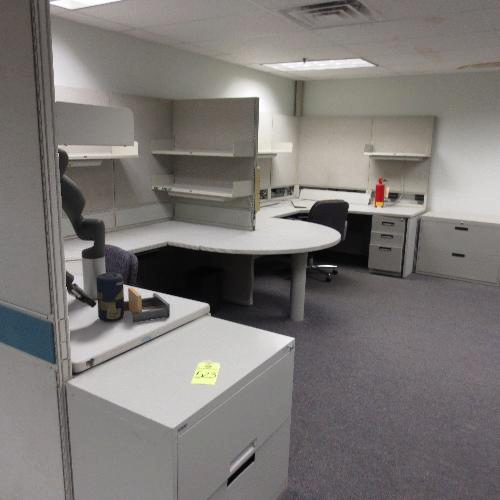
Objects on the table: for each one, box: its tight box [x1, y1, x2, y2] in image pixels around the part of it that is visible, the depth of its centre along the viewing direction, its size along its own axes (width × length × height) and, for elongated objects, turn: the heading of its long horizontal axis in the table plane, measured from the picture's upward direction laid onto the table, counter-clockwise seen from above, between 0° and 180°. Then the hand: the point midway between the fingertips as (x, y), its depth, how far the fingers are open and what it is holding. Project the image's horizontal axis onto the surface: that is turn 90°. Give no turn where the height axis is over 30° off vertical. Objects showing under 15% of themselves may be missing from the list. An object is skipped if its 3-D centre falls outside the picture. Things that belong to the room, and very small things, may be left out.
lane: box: [124, 292, 171, 324], centre depth 185 cm, size 15×14×5 cm
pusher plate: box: [127, 286, 143, 313], centre depth 182 cm, size 12×2×9 cm, turn 30°
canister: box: [96, 272, 125, 323], centre depth 177 cm, size 10×10×18 cm
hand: (94, 305), depth 175 cm, fingers closed
